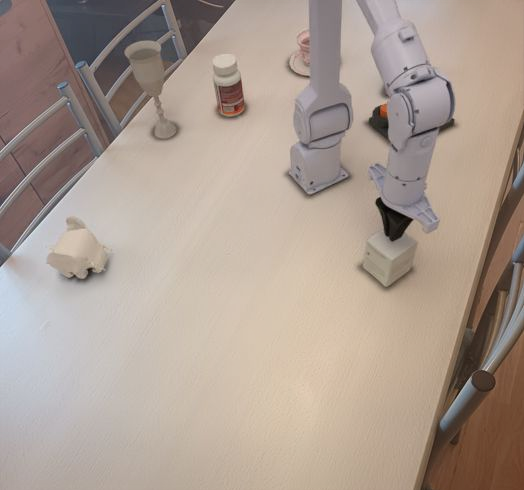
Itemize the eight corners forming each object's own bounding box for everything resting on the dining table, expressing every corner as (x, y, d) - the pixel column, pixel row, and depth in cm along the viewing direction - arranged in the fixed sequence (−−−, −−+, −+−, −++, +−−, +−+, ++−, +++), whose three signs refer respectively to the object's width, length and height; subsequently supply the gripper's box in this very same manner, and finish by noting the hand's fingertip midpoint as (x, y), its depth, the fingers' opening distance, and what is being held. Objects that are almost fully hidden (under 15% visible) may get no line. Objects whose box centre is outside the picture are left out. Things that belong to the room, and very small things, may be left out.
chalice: (183, 121, 114) (164, 39, 99) (178, 141, 111) (157, 59, 95) (153, 121, 115) (128, 41, 99) (146, 141, 112) (120, 60, 96)
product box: (361, 267, 89) (365, 239, 82) (386, 250, 90) (392, 221, 84) (386, 288, 86) (392, 260, 80) (411, 270, 88) (419, 241, 81)
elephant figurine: (107, 290, 91) (89, 258, 83) (48, 284, 93) (24, 252, 85) (124, 250, 95) (108, 216, 88) (67, 245, 97) (46, 211, 90)
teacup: (281, 58, 124) (279, 32, 118) (323, 43, 125) (324, 17, 120) (303, 83, 118) (303, 56, 112) (347, 67, 119) (349, 40, 114)
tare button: (384, 120, 105) (385, 113, 103) (376, 113, 106) (377, 106, 105) (395, 115, 105) (396, 108, 104) (387, 108, 106) (388, 101, 105)
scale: (398, 151, 103) (400, 139, 101) (366, 123, 109) (367, 110, 106) (453, 125, 106) (456, 112, 103) (419, 99, 111) (421, 86, 109)
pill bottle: (250, 108, 115) (245, 58, 105) (230, 121, 113) (223, 72, 103) (232, 97, 117) (225, 48, 107) (212, 110, 115) (204, 61, 105)
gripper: (466, 185, 67) (442, 253, 78) (398, 129, 73) (386, 199, 85) (423, 207, 65) (406, 273, 77) (358, 147, 72) (351, 216, 84)
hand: (393, 235), depth 81 cm, fingers closed
